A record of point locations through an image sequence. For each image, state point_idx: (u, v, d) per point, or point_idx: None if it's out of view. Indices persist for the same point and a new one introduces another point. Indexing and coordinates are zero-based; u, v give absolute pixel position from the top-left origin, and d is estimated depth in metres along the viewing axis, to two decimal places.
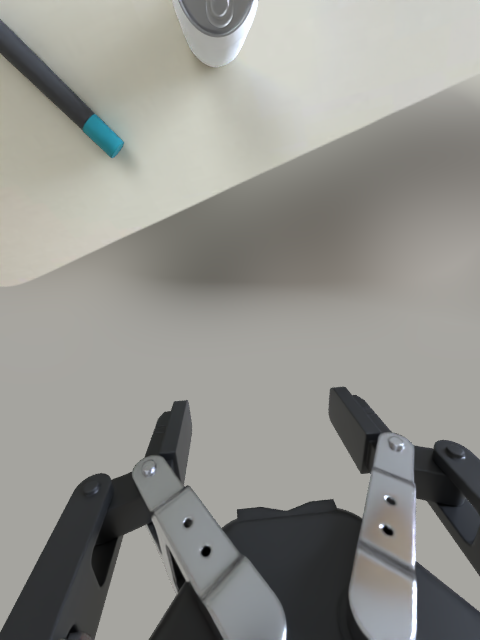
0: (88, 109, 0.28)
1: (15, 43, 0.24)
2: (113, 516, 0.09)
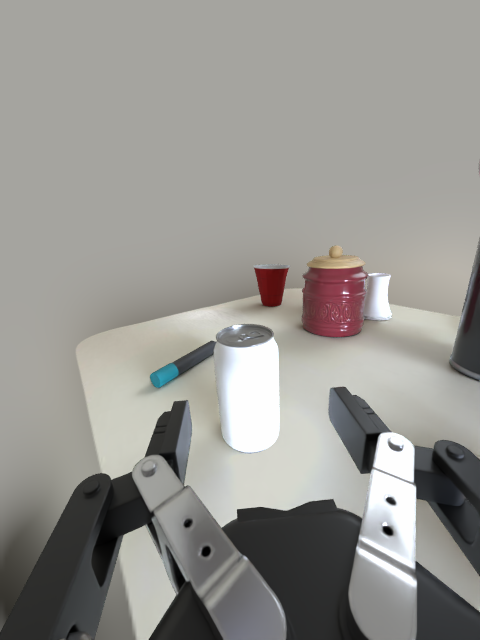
0: (178, 364, 0.40)
1: (204, 346, 0.46)
2: (113, 516, 0.09)
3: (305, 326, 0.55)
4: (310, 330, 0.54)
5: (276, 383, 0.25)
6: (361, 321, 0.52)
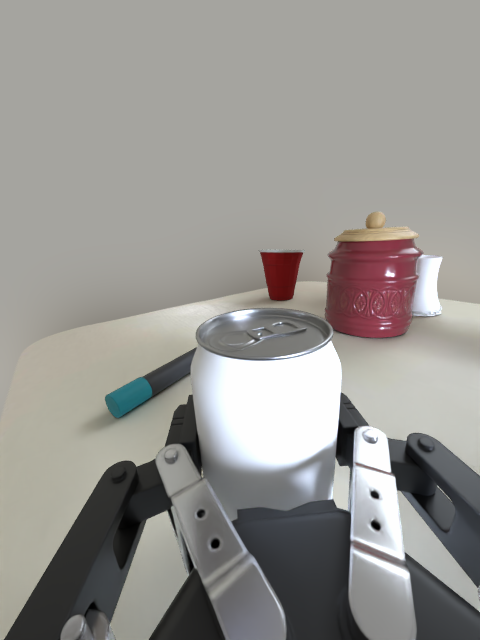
0: (154, 382, 0.26)
1: None
2: (136, 503, 0.09)
3: (331, 323, 0.41)
4: (338, 328, 0.40)
5: (336, 442, 0.11)
6: (410, 316, 0.37)
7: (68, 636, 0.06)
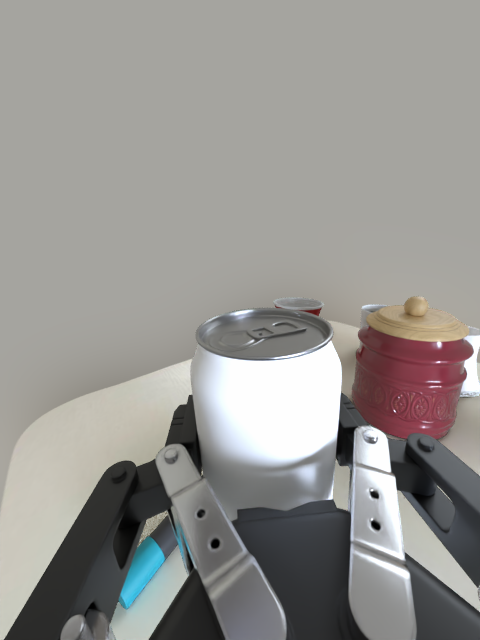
0: (166, 542, 0.22)
1: None
2: (136, 503, 0.09)
3: (361, 412, 0.37)
4: (371, 422, 0.35)
5: (336, 442, 0.11)
6: (455, 415, 0.33)
7: (68, 636, 0.06)
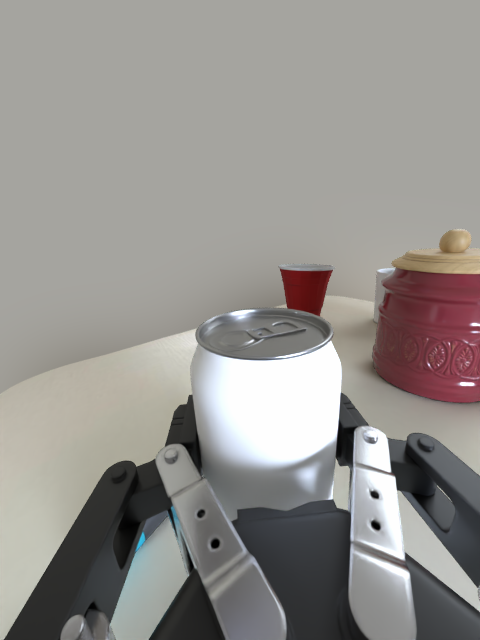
0: None
1: None
2: (136, 503, 0.09)
3: (385, 374, 0.31)
4: (398, 384, 0.30)
5: (336, 441, 0.11)
6: None
7: (68, 636, 0.06)
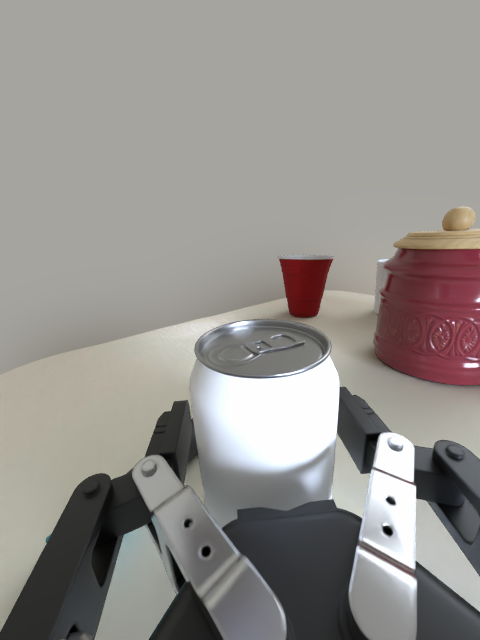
0: None
1: None
2: (113, 516, 0.09)
3: (388, 359, 0.30)
4: (401, 368, 0.29)
5: (334, 454, 0.11)
6: None
7: None
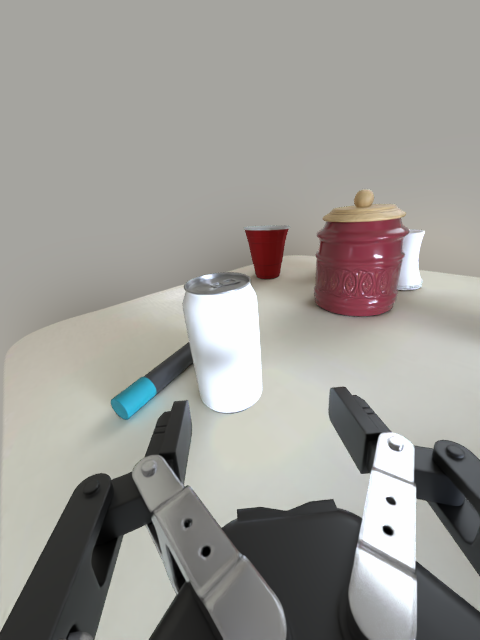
0: (156, 379, 0.26)
1: None
2: (113, 516, 0.09)
3: (321, 303, 0.42)
4: (328, 308, 0.41)
5: (256, 336, 0.22)
6: (396, 293, 0.39)
7: None
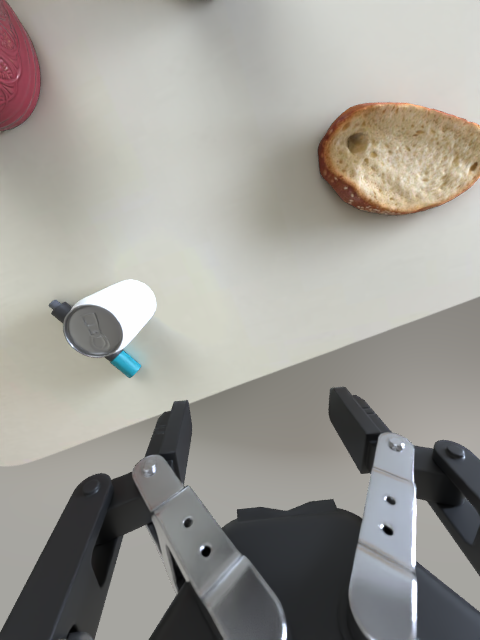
0: None
1: None
2: (113, 516, 0.09)
3: None
4: (6, 128, 0.28)
5: (129, 297, 0.29)
6: (4, 3, 0.24)
7: None
